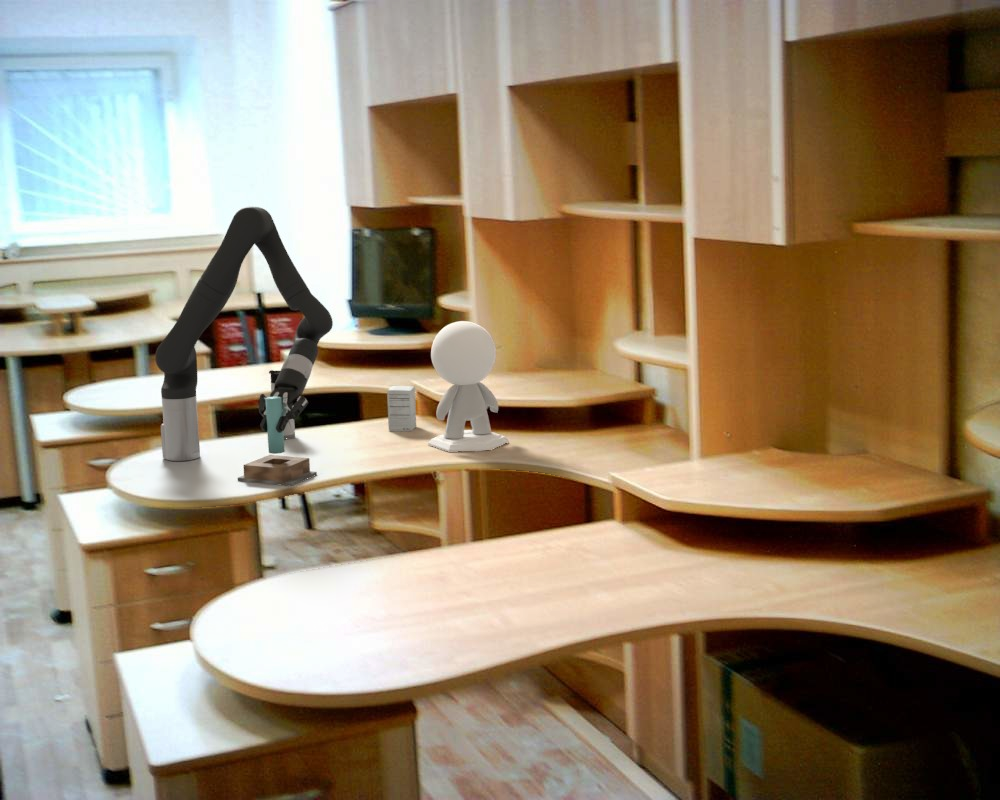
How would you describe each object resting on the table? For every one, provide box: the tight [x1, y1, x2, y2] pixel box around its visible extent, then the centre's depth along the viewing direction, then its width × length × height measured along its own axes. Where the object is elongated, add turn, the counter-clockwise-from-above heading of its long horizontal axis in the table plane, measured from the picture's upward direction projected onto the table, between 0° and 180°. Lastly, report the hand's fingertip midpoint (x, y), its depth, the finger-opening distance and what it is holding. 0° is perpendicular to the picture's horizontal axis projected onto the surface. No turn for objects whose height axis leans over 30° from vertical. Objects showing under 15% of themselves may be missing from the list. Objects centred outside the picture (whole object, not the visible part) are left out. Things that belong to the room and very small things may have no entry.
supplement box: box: [386, 385, 417, 432], centre depth 378 cm, size 7×7×13 cm
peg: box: [265, 397, 286, 455], centre depth 319 cm, size 4×4×14 cm
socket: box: [237, 454, 318, 487], centre depth 321 cm, size 16×12×4 cm
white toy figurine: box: [427, 320, 510, 453], centre depth 354 cm, size 20×23×35 cm
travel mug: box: [268, 369, 296, 440], centre depth 369 cm, size 6×7×20 cm
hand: (271, 430), depth 318 cm, fingers closed on peg, 4 cm apart
